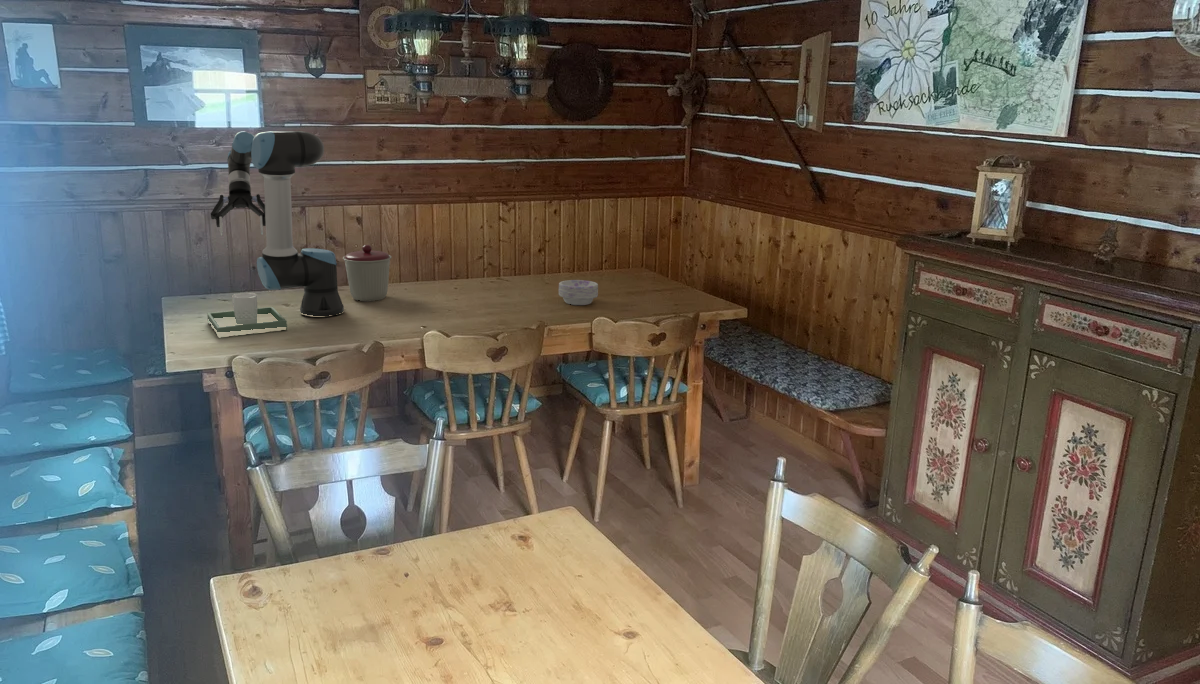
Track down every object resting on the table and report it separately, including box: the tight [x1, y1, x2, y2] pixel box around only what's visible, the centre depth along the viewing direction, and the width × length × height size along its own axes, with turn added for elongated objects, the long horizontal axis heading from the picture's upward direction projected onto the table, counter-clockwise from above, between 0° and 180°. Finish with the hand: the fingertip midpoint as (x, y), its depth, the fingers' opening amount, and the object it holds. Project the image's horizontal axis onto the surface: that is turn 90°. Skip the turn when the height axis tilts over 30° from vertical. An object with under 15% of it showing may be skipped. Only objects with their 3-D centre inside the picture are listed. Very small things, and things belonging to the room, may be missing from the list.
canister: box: [342, 244, 392, 302], centre depth 352 cm, size 18×18×21 cm
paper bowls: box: [558, 279, 599, 306], centre depth 355 cm, size 15×15×8 cm
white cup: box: [231, 292, 258, 325], centre depth 311 cm, size 8×8×10 cm
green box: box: [206, 306, 288, 332], centre depth 312 cm, size 22×22×4 cm
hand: (241, 233), depth 330 cm, fingers open, 13 cm apart
